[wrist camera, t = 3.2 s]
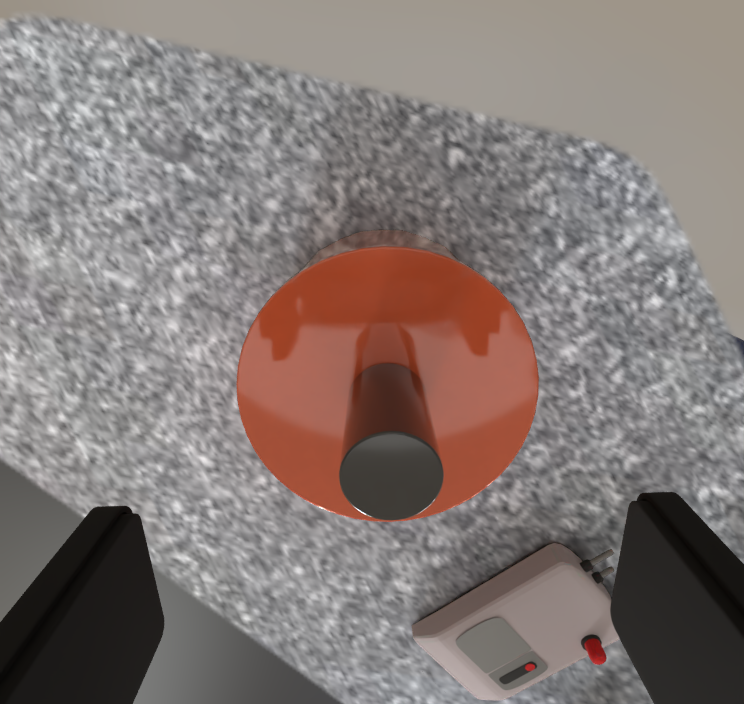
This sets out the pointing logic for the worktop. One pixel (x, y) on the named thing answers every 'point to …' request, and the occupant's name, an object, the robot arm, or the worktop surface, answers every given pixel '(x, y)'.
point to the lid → (387, 383)
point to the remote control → (523, 624)
